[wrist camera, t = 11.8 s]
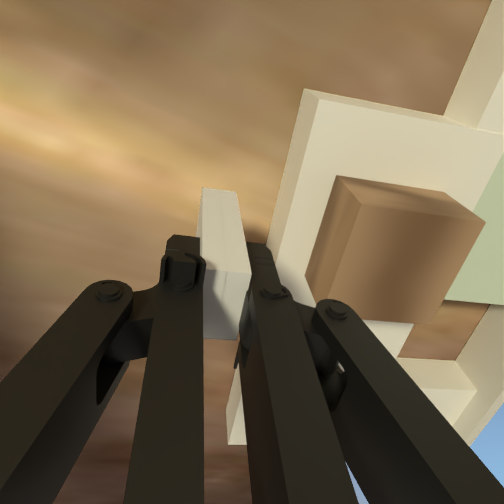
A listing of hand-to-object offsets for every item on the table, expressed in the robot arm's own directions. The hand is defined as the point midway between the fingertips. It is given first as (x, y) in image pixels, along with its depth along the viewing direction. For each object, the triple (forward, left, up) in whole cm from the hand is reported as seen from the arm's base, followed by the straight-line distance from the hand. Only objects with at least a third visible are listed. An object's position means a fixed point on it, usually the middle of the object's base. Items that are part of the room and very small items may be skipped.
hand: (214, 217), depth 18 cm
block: (+9, -1, -2) cm, 9 cm away
